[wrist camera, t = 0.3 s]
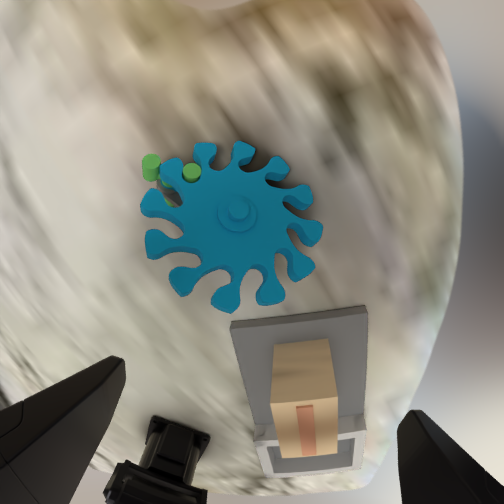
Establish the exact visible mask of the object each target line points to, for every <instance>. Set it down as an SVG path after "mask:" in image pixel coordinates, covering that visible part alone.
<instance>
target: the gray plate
mask: <svg viewBox="0 0 504 504" xmlns="http://www.w3.org/2000/svg"><path fill="white" fill-rule="evenodd" d="M230 333H231V337H232V341H233V344H234V348H235V352H236V356H237V360H238V363H239V367H240V371H241V375H242V378H243V382H244V386H245V389H246V393H247V397H248V400H249V404H250V407H251V411H252V414H253V418H254V421H255V433H254V444H255V447H256V450H257V453H258V456H259V459H260V463H261V466H262V469H263V471H264V474H265V477H266V478H279V477H297V476H310V475H320V474H329V473H337V472H345V471H351V470H358V469H361V466H362V460H363V454H364V447H365V439H366V432H367V429H366V424H365V419H364V414H363V413H364V401H365V387H366V369H367V344H368V312H367V309H366V307H365V306H359V307H352V308H345V309H338V310H331V311H324V312H316V313H308V314H300V315H292V316H283V317H274V318H264V319H254V320H244V321H233V322H231V326H230ZM327 338H328V341H329V346H330V352H331V358H332V364H333V370H334V376H335V382H336V388H337V395H338V442H337V453H335V454H327V455H318V456H308V457H296V458H282V455H281V451H280V446H279V442H278V437H277V433H276V428H275V424H274V419H273V415H272V410H271V406H270V397H271V383H272V368H273V353H274V344H284V343H294V342H303V341H311V340H319V339H327Z"/></svg>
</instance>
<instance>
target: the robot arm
mask: <svg viewBox="0 0 504 504" xmlns="http://www.w3.org/2000/svg"><path fill="white" fill-rule="evenodd" d="M125 382H126V371H125V361H124V359H122V358H119V357H116V356H109V357H107V358H105V359H103V360H101V361H99V362H97V363H95V364H94V365H92V366H90V367H88V368H86V369H84V370H82V371H80V372H78V373H76V374H74V375H72V376H70V377H68V378H66V379H64V380H62V381H60V382H58V383H56V384H54V385H52V386H50V387H48V388H46V389H44V390H42V391H40V392H38V393H36V394H34V395H32V396H30V397H28V398H26V399H24V401H23V400H22V401H20V402H18V403H16V404H14V405H11V406H9V407H7V408H5V409H2V410H0V504H69V503H70V501H71V499H72V497H73V495H74V493H75V491H76V488H77V487H78V485H79V483H80V480H81V479H82V477H83V475H84V473H85V471H86V469H87V467H88V465H89V463H90V461H91V459H92V457H93V455H94V453H95V451H96V449H97V447H98V446H99V444H100V442H101V440H102V438H103V436H104V434H105V432H106V430H107V428H108V426H109V424H110V422H111V419H112V417H113V414H114V411H115V409H116V406H117V404H118V401H119V398H120V396H121V393H122V391H123V388H124V386H125ZM209 441H210V436H209V435H206V434H203V433H200V432H197V431H194V430H191V429H188V428H185V427H183V426H180V425H177V424H174V423H172V422H169V421H166V420H164V419H161V418H159V417H156V416H153V417H152V418H151V421H150V425H149V429H148V433H147V438H146V442H145V445H146V448H145V450H144V453H143V455H142V457H141V460H140V462H139V465H136V464H134V463H132V462H131V461H129V460H127V459H126V460H125V462H124V463H117V465H116V468H115V470H114V472H113V474H112V476H111V478H110V480H109V482H108V483H107V485H106V487H105V489H104V491H103V494H104V496H105V498H106V501H105V502H106V503H107V504H206V502H207V491H208V490H206V489H200V488H197V487H194V486H191V484H192V480H193V476H194V472H195V469H196V465H197V463H198V461H199V459H200V458H201V456H202V454H203V452H204V450H205V449H206V447H207V445H208V443H209ZM397 443H398V470H399V479H400V487H401V497H402V504H504V486H503V485H501V484H500V483H499V482H498V481H497V480H496V479H495V478H493V477H492V476H491V475H490V474H489V473H488V472H487V471H485V469H484V468H483V467H482V466H481V465H480V464H478V463H477V462H476V461H475V460H474V459H473V458H472V457H471V456H470V455H469V454H468V453H467V452H466V451H465V450H463V449H462V448H461V447H460V446H459V445H458V444H457V443H456V442H455V441H454V440H453V439H452V438H451V437H450V436H448V434H446V433H445V432H444V431H443V430H442V429H441V428H440V427H439V426H438V425H437V424H436V423H435V422H434V421H433V420H431V418H429V417H428V416H427V415H426V414H425V413H424V412H423V411H422V410H410V411H409V412H408V413H407V414H406V416H405V417H404V419H403V420H402V421H401V423H400V424H399V426H398V429H397Z"/></svg>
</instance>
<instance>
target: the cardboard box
mask: <svg viewBox="0 0 504 504" xmlns="http://www.w3.org/2000/svg"><path fill="white" fill-rule="evenodd" d="M270 406H271V410H272V415H273V419H274V424H275V428H276V433H277V437H278V442H279V446H280V451H281V455H282V458H296V457H308V456H318V455H327V454H335V453H337V442H338V395H337V388H336V382H335V376H334V370H333V364H332V358H331V352H330V346H329V341H328V338H327V339H319V340H311V341H303V342H294V343H284V344H274V353H273V368H272V383H271V397H270Z"/></svg>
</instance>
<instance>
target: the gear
mask: <svg viewBox="0 0 504 504" xmlns="http://www.w3.org/2000/svg"><path fill="white" fill-rule="evenodd" d="M216 151H217V147H216V145H215V144H213V143H196V144H195V147H194V152H193V159H194V161H195V162H196V164H195V163H189V164H186V165H185V166H184V167H183V163H182V161H181V160H180V159H179V158H177V157H176V158H172V159H169V160H167V161H166V162H164V163H163V164H161V160H160V157H159V156H158V155H156V154H148V155H146V156H145V157H144V158H143V160H142V169H143V177H144V179H145V180H147V181H150V182H152V181H156V180H157V189H154V188H151V189H150V190H148V191H147V193H146V194H145V196H144V197H143V199H142V202H141V204H140V208H141V213H142V214H143V215H144V216H146V217H150V218H153V217H157V218H163V219H166V220H168V221H171V222H172V223H174V224H175V225H176V226H178V227H179V228H180V229H181V230H182V231H183V236H182V237H180V238H178V239H172V238H169V237H168V236H167V235H165V234H164V233H163V232H161V231H160V230H157V229H151V230H148V231H146V235H145V247H146V253H147V258H149V259H153V260H156V259H159V258H161V257H163V256H164V255H167V254H169V253H173V252H187V253H193V254H196V255H197V256H198V257H199V258H200V260H201V265H200V266H199V267H197V268H188V267H176V268H174V269H173V270H172V271H171V272H170V273H169V281H170V284H171V286H172V287H173V289H174V290H175V291H176V292H177V293H178V294H179V295H180V297H184V296H187V295H188V294H190V293H191V291H192V290H193V288H194V286H195V284H196V283H197V281H198V280H199V279H200V278H201V277H203V276H204V275H206V274H208V273H210V272H212V271H215V270H218V269H223V270H226V271H227V272H228V273H229V274H230V276H231V283H230V284H228V285H225V286H223V287H220V288H219V289H217V290H216V292H215V293H214V295H213V296H212V298H211V305H212V306H214V307H215V308H217V309H218V310H221V311H223V312H226V313H230V314H231V313H233V312H234V311H235V310H236V309H237V308H238V307H239V305H240V285H241V281H242V279H243V277H244V275H245V274H246V272H247V271H248V270H249V269H257V270H259V271H260V272H261V273H262V275H263V282H262V284H261V286H260V287H259V289H258V290H257V292H256V301H257V303H258V305H262V306H268V305H274V304H277V303H280V302H282V301H283V300H284V299H285V291H284V288H283V287H282V285H281V284H280V283H279V281H278V279H277V276H276V274H275V269H274V257H275V253H280V254H283V255H284V256H285V257H286V259H287V263H288V265H287V273H288V276H289V278H290V279H291V280H292V281H293V282H298V281H300V280H301V279H303V278H305V277H306V276H308V275H309V274H310V273H311V272H312V271H313V270H314V269H315V264H314V262H313V261H312V260H311V259H310V258H309V257H307V256H305V255H303V254H302V253H301V252H299V251H298V250H297V249H296V248H295V246H294V245H293V244H292V242H291V240H290V238H289V236H288V234H287V231H286V229H287V228H290V229H293V230H294V231H295V232H296V233H297V235H298V237H299V239H300V241H301V242H302V243H303V244H304V245H306V246H308V247H312V246H313V245H315V244H316V243H317V242H318V241H319V240H320V238H321V235H322V231H323V225H322V224H321V223H320V222H318V221H315V220H305V219H302V218H299V217H297V216H295V215H294V214H292V213H291V212H290V211H288V210H287V209H286V208H285V207H284V206H283V203H282V202H288V203H290V204H291V205H292V206H294V207H295V208H296V209H299V210H306V209H307V208H308V207H309V206H310V205H311V204H312V203H313V196H312V192H311V190H310V187H309V186H307V185H299V186H297V187H295V188H292V189H280V188H276V187H272V186H270V185H268V184H267V183H266V181H265V179H270V180H274V181H281V180H283V179H284V178H285V177H286V175H287V174H288V172H289V170H290V168H289V167H288V165H287V164H286V163H285V161H284V160H283V159H282V158H280V157H279V156H274V157H272V158H271V159H270V161H269V163H268V164H267V166H265V167H264V168H262V169H261V170H258V171H254V172H250V173H246V172H244V171H242V170H241V169H240V168H239V166H242V165H246V164H248V163H250V161H251V159H252V157H253V155H254V153H255V148H254V147H252V146H251V145H249V144H247V143H244V142H241V141H237V142H236V143H235V144H234V146H233V149H232V152H231V162H230V164H229V165H228V166H227V167H226V168H225V169H223V170H221V171H215V170H213V169H211V168H210V167H209V165H210V164H211V163H212V162H213V161H214V158H215V155H216ZM173 206H175V207H176V208H174V207H173Z"/></svg>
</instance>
